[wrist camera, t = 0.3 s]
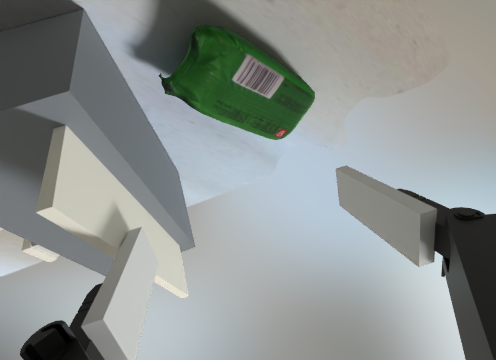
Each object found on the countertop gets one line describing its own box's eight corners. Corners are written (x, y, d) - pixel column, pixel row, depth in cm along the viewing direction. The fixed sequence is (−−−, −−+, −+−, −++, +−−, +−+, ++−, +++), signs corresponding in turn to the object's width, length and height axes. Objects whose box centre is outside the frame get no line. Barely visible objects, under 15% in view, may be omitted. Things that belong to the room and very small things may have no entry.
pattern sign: (48, 130, 12) (28, 214, 9) (66, 125, 12) (52, 206, 9) (171, 248, 25) (179, 299, 22) (179, 245, 25) (188, 296, 22)
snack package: (189, -7, 19) (204, 17, 16) (311, 79, 29) (334, 104, 26) (154, 73, 23) (161, 105, 20) (273, 125, 33) (290, 152, 30)
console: (-51, 44, 17) (-152, 157, 10) (83, 8, 18) (69, 90, 11) (110, 195, 32) (111, 278, 25) (178, 172, 33) (195, 246, 26)
